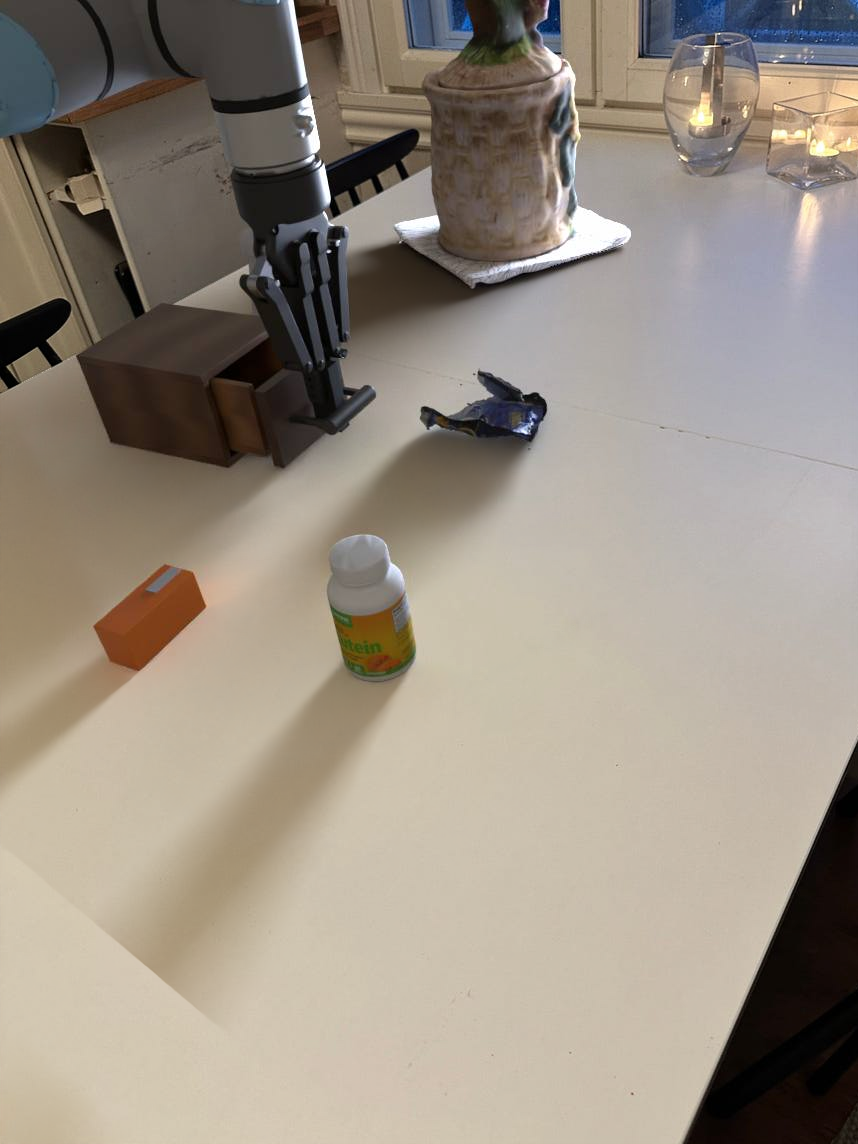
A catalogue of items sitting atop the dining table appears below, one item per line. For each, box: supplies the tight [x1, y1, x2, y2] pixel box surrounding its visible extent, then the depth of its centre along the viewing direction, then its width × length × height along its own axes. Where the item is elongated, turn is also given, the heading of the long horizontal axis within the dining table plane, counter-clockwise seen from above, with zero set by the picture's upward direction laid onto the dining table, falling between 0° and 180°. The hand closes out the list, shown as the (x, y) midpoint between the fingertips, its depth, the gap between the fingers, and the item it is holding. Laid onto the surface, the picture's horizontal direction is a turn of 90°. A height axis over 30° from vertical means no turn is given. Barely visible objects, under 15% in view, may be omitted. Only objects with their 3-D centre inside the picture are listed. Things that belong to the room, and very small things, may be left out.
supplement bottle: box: [326, 534, 418, 682], centre depth 67 cm, size 5×5×10 cm
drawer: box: [208, 337, 377, 469], centre depth 93 cm, size 20×11×8 cm, turn 63°
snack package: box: [419, 369, 548, 451], centre depth 92 cm, size 12×6×12 cm
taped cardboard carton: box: [92, 563, 207, 672], centre depth 73 cm, size 3×8×4 cm, turn 153°
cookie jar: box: [393, 0, 631, 289], centre depth 120 cm, size 25×25×32 cm
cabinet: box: [75, 302, 269, 469], centre depth 96 cm, size 16×13×10 cm
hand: (333, 426), depth 91 cm, fingers closed
